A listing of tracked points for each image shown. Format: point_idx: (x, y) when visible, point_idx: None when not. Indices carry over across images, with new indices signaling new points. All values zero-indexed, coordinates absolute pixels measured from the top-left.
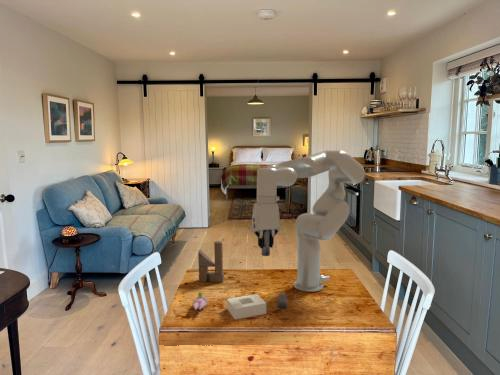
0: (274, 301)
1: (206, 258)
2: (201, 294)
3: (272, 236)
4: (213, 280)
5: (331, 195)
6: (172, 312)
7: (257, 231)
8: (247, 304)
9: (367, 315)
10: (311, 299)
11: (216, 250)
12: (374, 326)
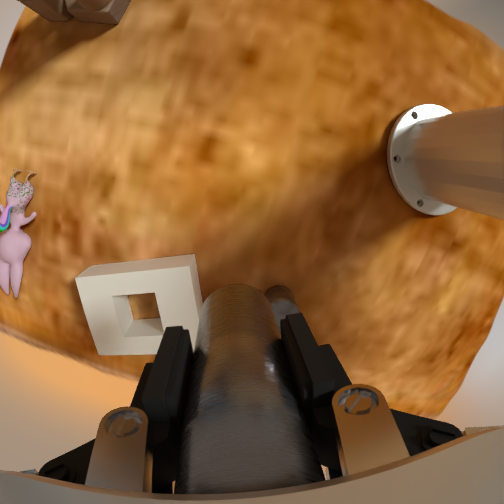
0: (266, 249)
1: None
2: (3, 230)
3: (329, 466)
4: (85, 20)
5: None
6: None
7: (91, 475)
8: (139, 342)
9: (444, 377)
10: (393, 267)
11: None
12: None
